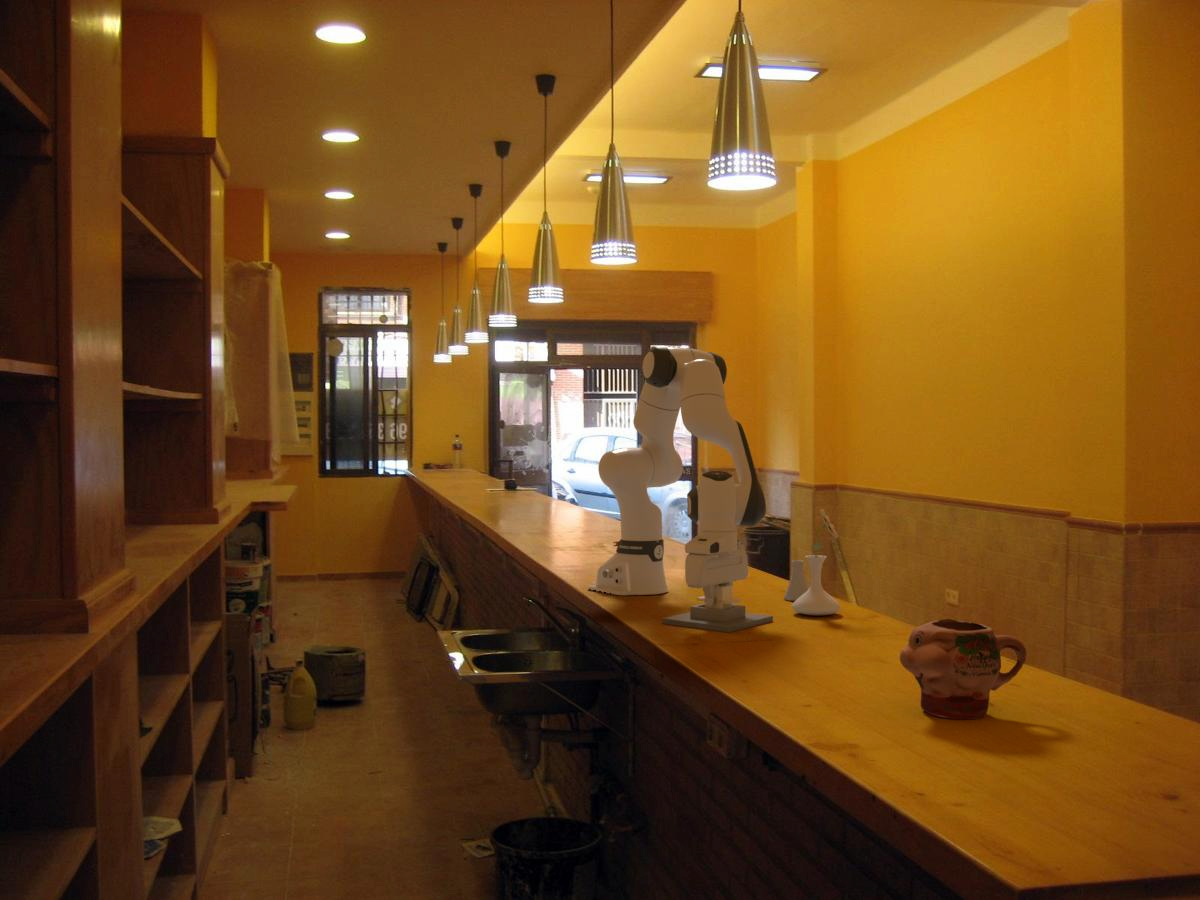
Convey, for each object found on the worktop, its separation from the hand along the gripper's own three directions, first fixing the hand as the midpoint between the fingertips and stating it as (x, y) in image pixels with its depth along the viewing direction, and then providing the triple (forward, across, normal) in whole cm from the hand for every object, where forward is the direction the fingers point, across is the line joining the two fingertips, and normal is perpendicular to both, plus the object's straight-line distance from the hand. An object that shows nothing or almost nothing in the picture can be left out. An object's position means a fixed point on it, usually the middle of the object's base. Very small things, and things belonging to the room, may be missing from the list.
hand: (718, 603), depth 260 cm
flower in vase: (+5, -24, +12) cm, 27 cm away
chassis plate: (+4, 0, 0) cm, 4 cm away
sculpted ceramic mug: (+4, +42, +76) cm, 87 cm away
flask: (+5, -40, -3) cm, 40 cm away
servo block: (+2, 0, 0) cm, 2 cm away
